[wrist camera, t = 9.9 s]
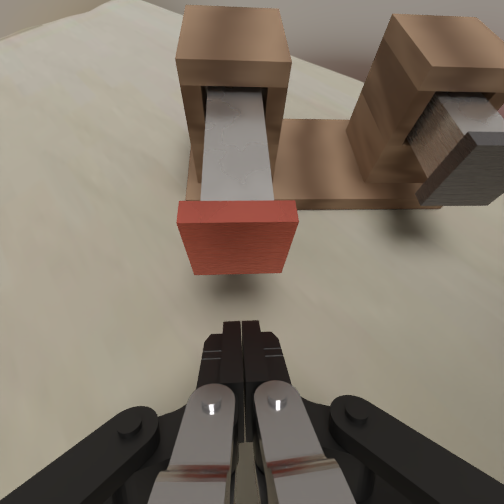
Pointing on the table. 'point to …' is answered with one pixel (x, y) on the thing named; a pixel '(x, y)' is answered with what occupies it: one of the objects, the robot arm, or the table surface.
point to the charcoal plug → (459, 150)
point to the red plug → (236, 193)
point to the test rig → (336, 131)
